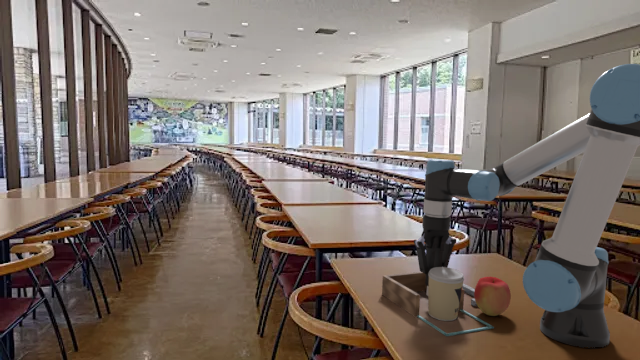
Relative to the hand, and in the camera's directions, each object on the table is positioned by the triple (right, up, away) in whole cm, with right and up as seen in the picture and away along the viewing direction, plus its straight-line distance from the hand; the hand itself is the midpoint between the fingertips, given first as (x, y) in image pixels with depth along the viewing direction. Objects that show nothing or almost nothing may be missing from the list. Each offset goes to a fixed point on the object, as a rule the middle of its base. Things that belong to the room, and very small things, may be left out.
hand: (431, 296), depth 126 cm
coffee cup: (+2, -4, -5) cm, 6 cm away
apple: (+16, -4, -3) cm, 17 cm away
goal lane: (+4, -4, -9) cm, 11 cm away
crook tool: (+13, -3, +12) cm, 18 cm away
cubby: (-2, -3, +5) cm, 6 cm away
